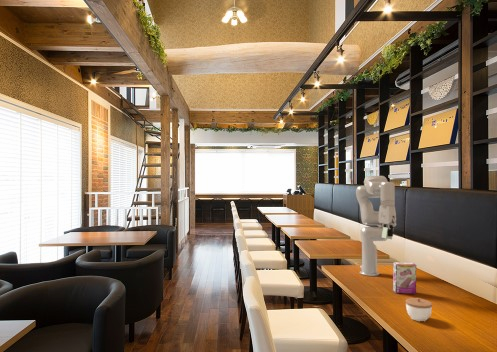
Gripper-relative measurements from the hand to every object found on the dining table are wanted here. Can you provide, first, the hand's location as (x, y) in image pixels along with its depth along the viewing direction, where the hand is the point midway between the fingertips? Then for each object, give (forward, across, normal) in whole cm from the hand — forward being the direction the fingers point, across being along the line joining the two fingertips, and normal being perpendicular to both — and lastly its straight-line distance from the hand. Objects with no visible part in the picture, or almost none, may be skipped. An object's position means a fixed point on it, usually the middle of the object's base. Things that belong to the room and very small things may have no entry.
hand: (387, 235), depth 199 cm
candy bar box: (+32, +5, +7) cm, 33 cm away
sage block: (+2, 0, -1) cm, 2 cm away
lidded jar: (+32, +39, -13) cm, 52 cm away
